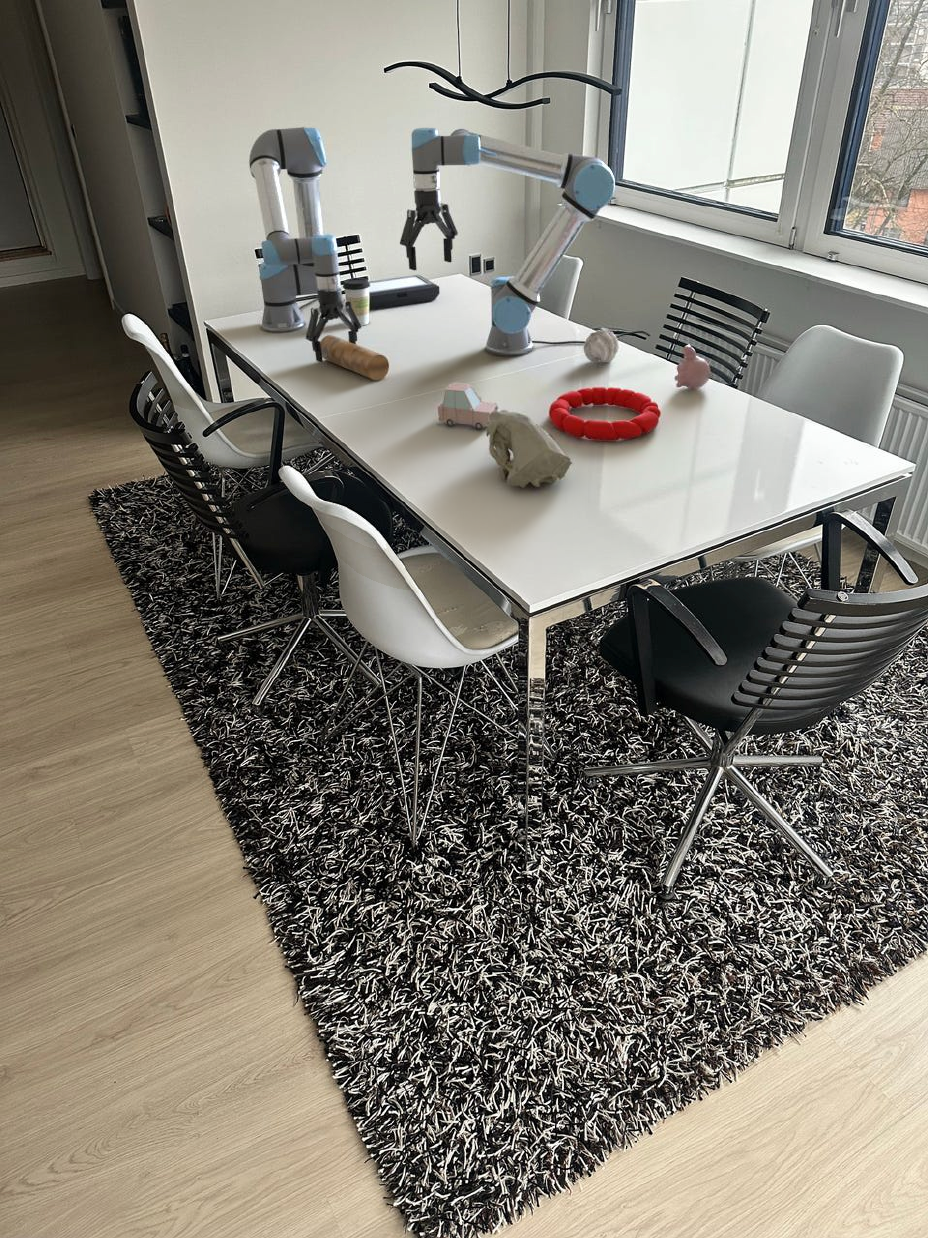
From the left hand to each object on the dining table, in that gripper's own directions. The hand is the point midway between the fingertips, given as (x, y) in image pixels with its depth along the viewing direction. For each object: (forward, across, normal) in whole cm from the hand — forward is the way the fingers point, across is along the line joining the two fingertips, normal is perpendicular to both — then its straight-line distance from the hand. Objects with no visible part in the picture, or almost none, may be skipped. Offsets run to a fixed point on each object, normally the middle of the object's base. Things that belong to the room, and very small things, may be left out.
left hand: (336, 356), depth 291 cm
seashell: (+2, +61, -61) cm, 86 cm away
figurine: (+2, +61, -95) cm, 113 cm away
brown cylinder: (+2, 0, -10) cm, 10 cm away
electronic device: (+2, +57, +47) cm, 74 cm away
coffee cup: (+2, +30, +31) cm, 43 cm away
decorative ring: (+2, +25, -95) cm, 98 cm away
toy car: (+2, -3, -70) cm, 70 cm away
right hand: (-28, +22, -24) cm, 43 cm away
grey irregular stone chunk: (+2, -13, -102) cm, 102 cm away
